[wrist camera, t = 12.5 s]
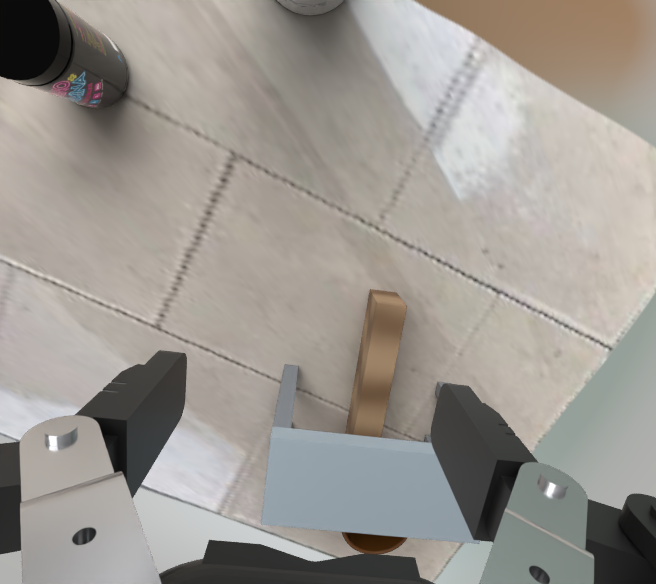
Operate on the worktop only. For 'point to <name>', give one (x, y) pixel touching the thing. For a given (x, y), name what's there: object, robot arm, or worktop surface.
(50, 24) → the supplement container
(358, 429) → the batten
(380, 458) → the small grey table
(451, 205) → the worktop surface
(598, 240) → the worktop surface
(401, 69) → the worktop surface
